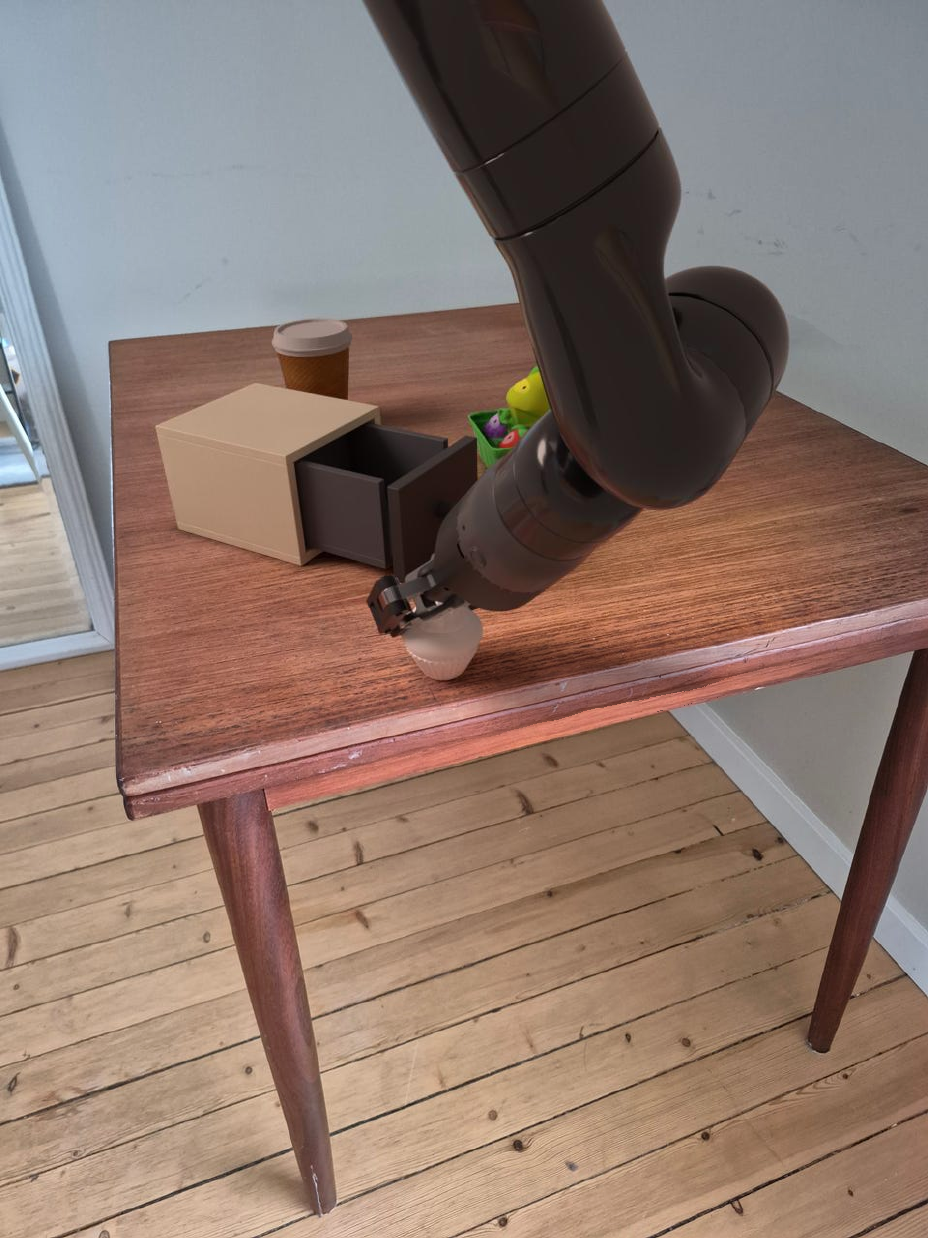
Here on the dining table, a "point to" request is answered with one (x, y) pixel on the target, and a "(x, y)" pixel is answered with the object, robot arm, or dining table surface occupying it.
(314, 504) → the pulled-out nightstand drawer
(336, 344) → the disposable coffee cup
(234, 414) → the cabinet
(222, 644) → the dining table surface
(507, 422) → the fruit basket
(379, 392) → the dining table surface
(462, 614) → the muffin
